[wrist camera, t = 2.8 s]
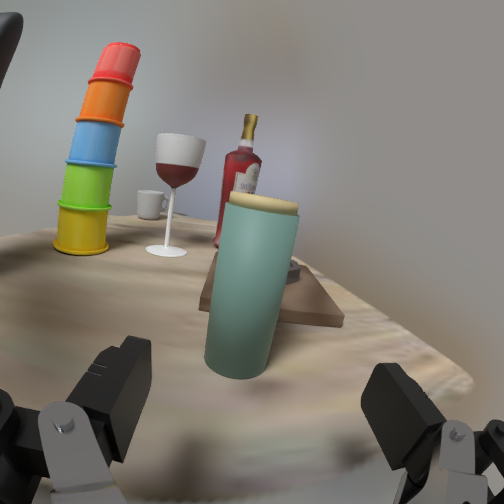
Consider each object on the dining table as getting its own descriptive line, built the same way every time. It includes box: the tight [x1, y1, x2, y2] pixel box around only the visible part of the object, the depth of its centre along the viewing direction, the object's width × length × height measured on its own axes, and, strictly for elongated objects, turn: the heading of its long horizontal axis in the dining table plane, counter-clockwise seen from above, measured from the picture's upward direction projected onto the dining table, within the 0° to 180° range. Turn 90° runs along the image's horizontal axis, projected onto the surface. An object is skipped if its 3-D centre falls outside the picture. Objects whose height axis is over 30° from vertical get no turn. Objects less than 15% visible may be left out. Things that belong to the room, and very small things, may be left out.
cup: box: [137, 190, 170, 220], centre depth 77 cm, size 11×8×8 cm
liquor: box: [213, 114, 262, 248], centre depth 55 cm, size 7×7×28 cm
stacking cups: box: [53, 42, 141, 255], centre depth 37 cm, size 10×10×35 cm
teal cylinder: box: [204, 191, 299, 379], centre depth 20 cm, size 5×5×13 cm
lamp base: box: [199, 252, 345, 327], centre depth 39 cm, size 16×20×4 cm
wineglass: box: [146, 133, 206, 257], centre depth 46 cm, size 8×9×20 cm
